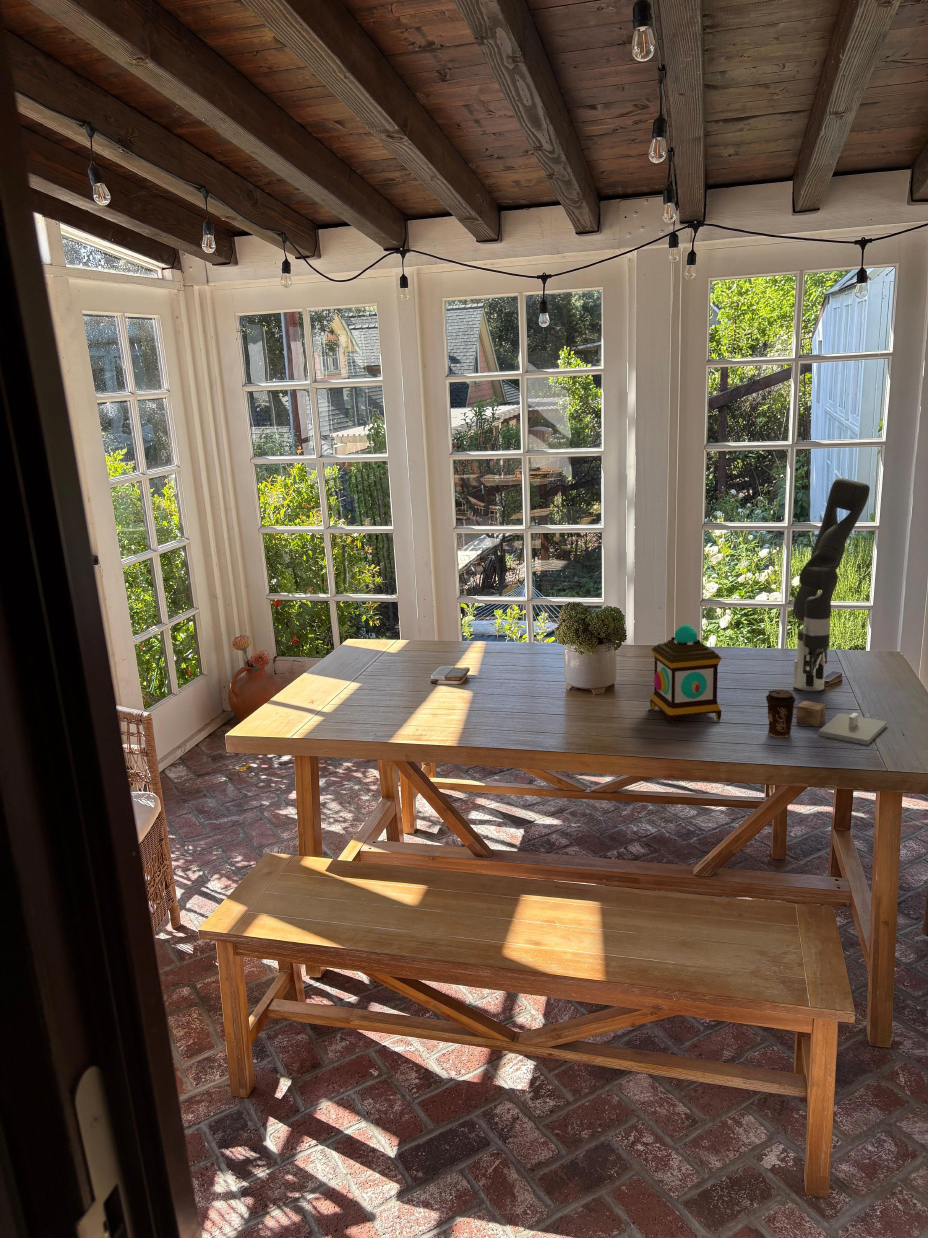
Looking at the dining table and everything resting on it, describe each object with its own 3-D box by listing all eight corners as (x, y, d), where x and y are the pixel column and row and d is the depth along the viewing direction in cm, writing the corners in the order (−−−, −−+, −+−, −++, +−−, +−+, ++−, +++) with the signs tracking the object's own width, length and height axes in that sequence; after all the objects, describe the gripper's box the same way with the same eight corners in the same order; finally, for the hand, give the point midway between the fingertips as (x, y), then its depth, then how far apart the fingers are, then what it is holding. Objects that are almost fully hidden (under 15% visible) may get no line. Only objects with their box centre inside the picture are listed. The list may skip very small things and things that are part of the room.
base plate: (818, 735, 270) (818, 730, 270) (839, 717, 284) (839, 713, 283) (867, 745, 261) (867, 740, 261) (886, 726, 275) (886, 721, 274)
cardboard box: (796, 722, 281) (797, 705, 280) (803, 716, 286) (804, 700, 284) (817, 726, 277) (818, 709, 276) (824, 720, 282) (825, 704, 280)
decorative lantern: (666, 728, 282) (667, 635, 275) (644, 707, 301) (644, 619, 294) (727, 721, 285) (729, 629, 278) (701, 701, 304) (703, 614, 297)
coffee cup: (760, 729, 277) (762, 688, 274) (788, 728, 277) (790, 687, 274) (769, 739, 269) (770, 698, 266) (797, 738, 269) (799, 697, 266)
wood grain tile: (848, 727, 271) (849, 716, 270) (852, 723, 274) (853, 712, 273) (853, 728, 270) (853, 717, 269) (857, 724, 273) (858, 713, 272)
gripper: (812, 625, 282) (810, 675, 286) (795, 635, 272) (793, 686, 275) (837, 627, 277) (834, 678, 281) (821, 638, 267) (819, 690, 270)
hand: (814, 682), depth 278 cm, fingers open, 8 cm apart
